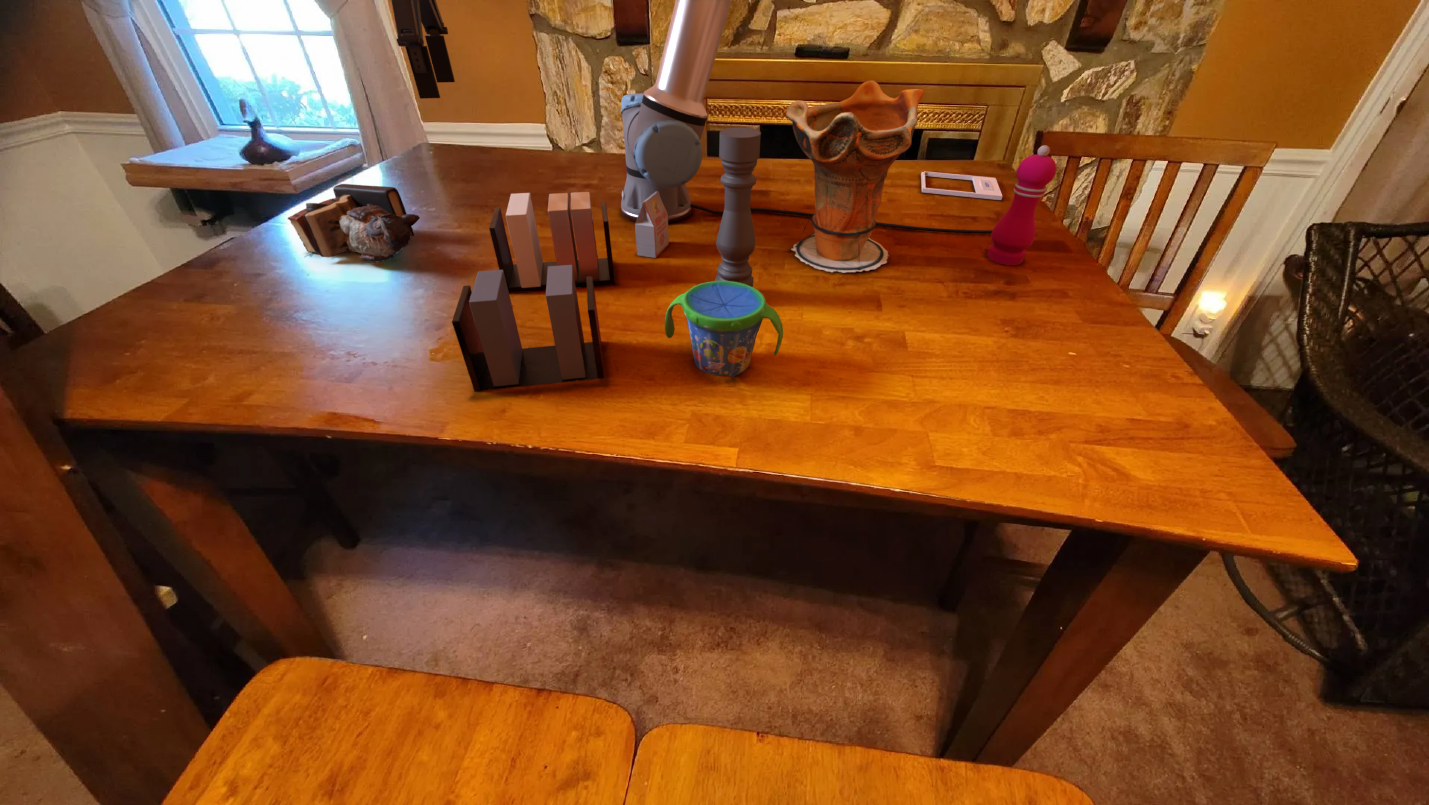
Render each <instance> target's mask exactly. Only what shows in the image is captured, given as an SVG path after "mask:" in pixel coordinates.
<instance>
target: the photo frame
mask: <svg viewBox="0 0 1429 805" xmlns="http://www.w3.org/2000/svg"><path fill="white" fill-rule="evenodd" d="M923 171H924V170H923ZM926 177H934V178H943V179H944V178H945V179H953V180H954V179H956V180H963V181H964V180H965V181H972V184H973V188H974V191H975V192H972V191H963V190H962V191H961V190H953V189H943V188H932V187H926ZM920 182H921V183H920V184H921V193H923V194H925V193H926V194H938V195H944V196H945V195H946V196H956V197H966V198H974V199H975V198H976V199H986V200H996V201H1002V200H1003V194H1002V192H1001V188H1000V186H999V183H998V181H997V178H996V177H990V176H979V175H970V174H957V173H947V172H946V173H945V172H935V171H924V172H922V171H921V173H920Z"/></svg>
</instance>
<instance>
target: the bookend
mask: <svg viewBox="0 0 1429 805" xmlns="http://www.w3.org/2000/svg"><path fill="white" fill-rule="evenodd" d="M332 191H333V194H334V197H333V198H329V199H327V200H323V201H321V202H318V203H317V202H306V203H305V208H303V209H302V210H299V211H297V212H295V213H294V214H293V215H291V216H288V217H287V220H289V222H290V224H291V225H292V227H293V228H294V230H295V232H296V234H297V236H298V237H299V239H300V240H301V243H302V246H303V247H304V248H305V250H306V251H307V252H308V253H315V254H316V255H317V254H318V255H319V256H320V257H322V258H332V257H334V256H335V255H338V254H341V253H345V252H346V253H351V252H352V253H358V254H360V259H361V261H362V262H366V263H368V262H369V263H381V262H386V261H390V259H392V258H394V257H395V256H396V255H397V254H398V253H400V252H401V251H402V249H403V248H405V247H406V246H408V244H409V242H410V240H411V238H412V237H414V236H415V232H414V230H413V226H414V225H415V224H417V222H418V221H419V220H420V218H421V217H420V216H419V215H418V214H413V213H407V211H406V207H405V205H404V202H403V200H402V197H401V194H400V191H399V190H398V189H397V188H396V187H394V186H386V185H385V186H384V185H383V186H381V185H366V184H353V183H341V184H337V185H335V186H334V187H333V188H332Z"/></svg>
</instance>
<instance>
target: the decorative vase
mask: <svg viewBox="0 0 1429 805" xmlns="http://www.w3.org/2000/svg"><path fill="white" fill-rule="evenodd" d="M881 88H882V87H881V86H880V84H879V83H878V82H876V81H875V80H867V81H864V82H862V83H861V84H860V85H859V86H858V87H857V88H856V90H855V91H854V93H853V94H852V95H851V96H850V97H848V98H846V99H843V100H841V101H839V102H833V103H827V104H821V105H814V106H812V107H809V104H808V103H807V101H805V100H799V99H798V100H795V101H792V102H791V103H790V104H789V105H788V107H787V109H786V113H785V116H786V118H787V119H788V120H789V121H790V122H791V124H792V126H791V127H792V130H793V134H794V137H795V140H796V142H797V144H798V145H799V147H800V149H801V150H802V152H803V154H805V155H806V156H807V158H808V159H809V160H811V162H812V163H813V171H814V203H815V204H814V208H815V209H814V210H815V212H814V214H815V215H813V217H810V219H809V220H808V221H807V223H806V225H805V226H804V228H803V231H802V233H804V232H805V230H806V228H807V225H808V224H809V222H810V223H811V224H812V226H813V231H814V233H813V234H811V235H808V237H806V238H803V239H801V240H800V239H799V241H798V242H796V243H795V244H793V246H792V247H793V248H791V249H790V250H791V251H793V252H795V254H794V257H795V258H798V260H799V261H800V262H802V263H805V265H809V267H813V269H816V270H822V271H824V272H826V273H827V272H830V273H832V274H833V273H834V272H838V273H842V274H846V273H856V272H860V273H862V272H863V271H865V272H869V271H870V270H876V269H878V268H879V267H881V265H884V264H887V263H888V259H889V257H890V255H889V254H888V253H889V251H888V250H886V248H884V247H883V245H882V244H881V243H879V242H877V241H876V240H874V239H872V238H871V235H872V234H873V230H874V229H875V228H876V227H877V226H876V223H877V222H878V221H877V220H876V217H877V215H878V211H879V208H880V205H881V203H882V197H883V190H884V186H885V180H886V178H887V177H888V171H889V169H890V168H891V166H892V165H893V164H894V163H895V161H896V160H897V159H898V158H899V157H900V156H901V155H902V154H904V153H905V152H907V150H908V149H910V148H911V145H912V138H913V135H914V132H915V128H916V126H917V125H918V108H919V105H920V102H921V100H922V98H923V97H924V95H925V90H924V89H921V88H911V89H904V90H903V89H902V91H900V92H899V95H898V96H896V97H894V98H893V97H890V96H889V95H887V94H886V93H884V92H883V90H882V89H881Z"/></svg>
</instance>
